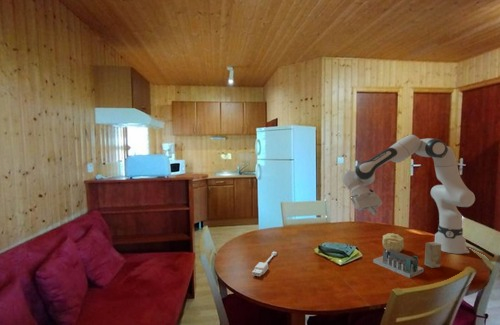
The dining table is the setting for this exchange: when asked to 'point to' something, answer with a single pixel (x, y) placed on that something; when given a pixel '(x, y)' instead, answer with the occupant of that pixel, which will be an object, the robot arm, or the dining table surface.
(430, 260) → the skincare box
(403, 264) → the grey dish rack
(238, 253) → the dining table surface
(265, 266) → the charging cable
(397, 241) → the sculpture
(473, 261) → the dining table surface
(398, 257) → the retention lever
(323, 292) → the dining table surface
